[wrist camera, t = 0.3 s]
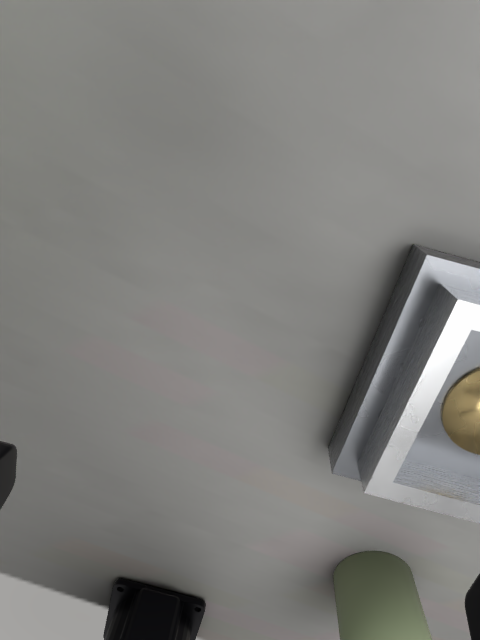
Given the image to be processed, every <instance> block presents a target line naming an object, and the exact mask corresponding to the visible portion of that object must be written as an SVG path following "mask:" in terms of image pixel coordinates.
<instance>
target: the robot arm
mask: <svg viewBox="0 0 480 640" xmlns="http://www.w3.org/2000/svg"><path fill="white" fill-rule="evenodd" d="M16 460H17V449H16V447H15V446H14V445H13V444H9V443H5V442H2V441H0V509H1V508H2V506H3V504H4V503H5V501H6V499H7V497H8V496H9V494H10V492H11V490H12V488H13V486H14V483H15V478H16ZM205 607H206V603H205V602H204V601H203V600H201V599H197V598H194V597H190V596H186V595H182V594H178V593H174V592H171V591H167V590H163V589H159V588H155V587H151V586H148V585H144V584H140V583H136V582H132V581H128V580H125V579H117V580H116V581H115V584H114V586H113V590H112V595H111V601H110V606H109V611H108V616H107V621H106V626H105V631H104V640H195V639H196V636H197V633H198V630H199V627H200V624H201V621H202V618H203V615H204V612H205ZM465 610H466V615H467V620H468V625H469V630H470V635H471V640H480V574H479V575H478V577H477V578H476V580H475V581H474V583H473V584H472V586H471V587H470V589H469V590H468V592H467V594H466V597H465Z"/></svg>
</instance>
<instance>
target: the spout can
mask: <svg viewBox="0 0 480 640" xmlns="http://www.w3.org/2000/svg"><path fill="white" fill-rule="evenodd" d="M333 582H334V590H335V599H336V608H337V616H338V625H339V633H340V640H432V638H431V635H430V632H429V628H428V625H427V622H426V618H425V615H424V612H423V608H422V605H421V602H420V598H419V595H418V592H417V588H416V585H415V582H414V578H413V575H412V572H411V570H410V568H409V566H408V565H407V564H406V563H405V562H404V561H403V560H402V559H400V558H398V557H397V556H395V555H392V554H389V553H386V552H380V551H365V552H360V553H356V554H353V555H351V556H349V557H347V558H345V559H344V560H343V561H341V562H340V563H339V564H338V566H337V567H336V569H335V571H334V575H333Z"/></svg>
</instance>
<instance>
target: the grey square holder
mask: <svg viewBox="0 0 480 640" xmlns="http://www.w3.org/2000/svg"><path fill="white" fill-rule="evenodd" d="M328 451H329V457H330V464H331V471H332V473H333V474H336V475H340V476H344V477H348V478H351V479H355V480H359V481H361V482H362V487H363V491H364V493H366V494H370V495H374V496H377V497H381V498H385V499H389V500H392V501H396V502H400V503H404V504H408V505H411V506H415V507H419V508H423V509H426V510H430V511H434V512H438V513H442V514H445V515H449V516H453V517H457V518H460V519H464V520H468V521H472V522H475V523H479V524H480V262H477V261H473V260H469V259H466V258H462V257H458V256H455V255H451V254H447V253H444V252H440V251H436V250H433V249H429V248H425V247H422V246H418V245H414V244H413V247H412V249H411V251H410V254H409V256H408V259H407V261H406V263H405V266H404V268H403V270H402V273H401V275H400V278H399V280H398V282H397V285H396V287H395V290H394V292H393V294H392V297H391V299H390V302H389V304H388V306H387V309H386V311H385V314H384V316H383V318H382V321H381V323H380V325H379V328H378V330H377V333H376V335H375V337H374V340H373V342H372V345H371V347H370V349H369V352H368V354H367V357H366V359H365V361H364V364H363V366H362V369H361V371H360V373H359V376H358V378H357V380H356V383H355V385H354V388H353V390H352V392H351V395H350V397H349V400H348V402H347V404H346V407H345V409H344V412H343V414H342V416H341V419H340V421H339V423H338V426H337V428H336V431H335V433H334V435H333V438H332V440H331V443H330V445H329V447H328Z"/></svg>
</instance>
